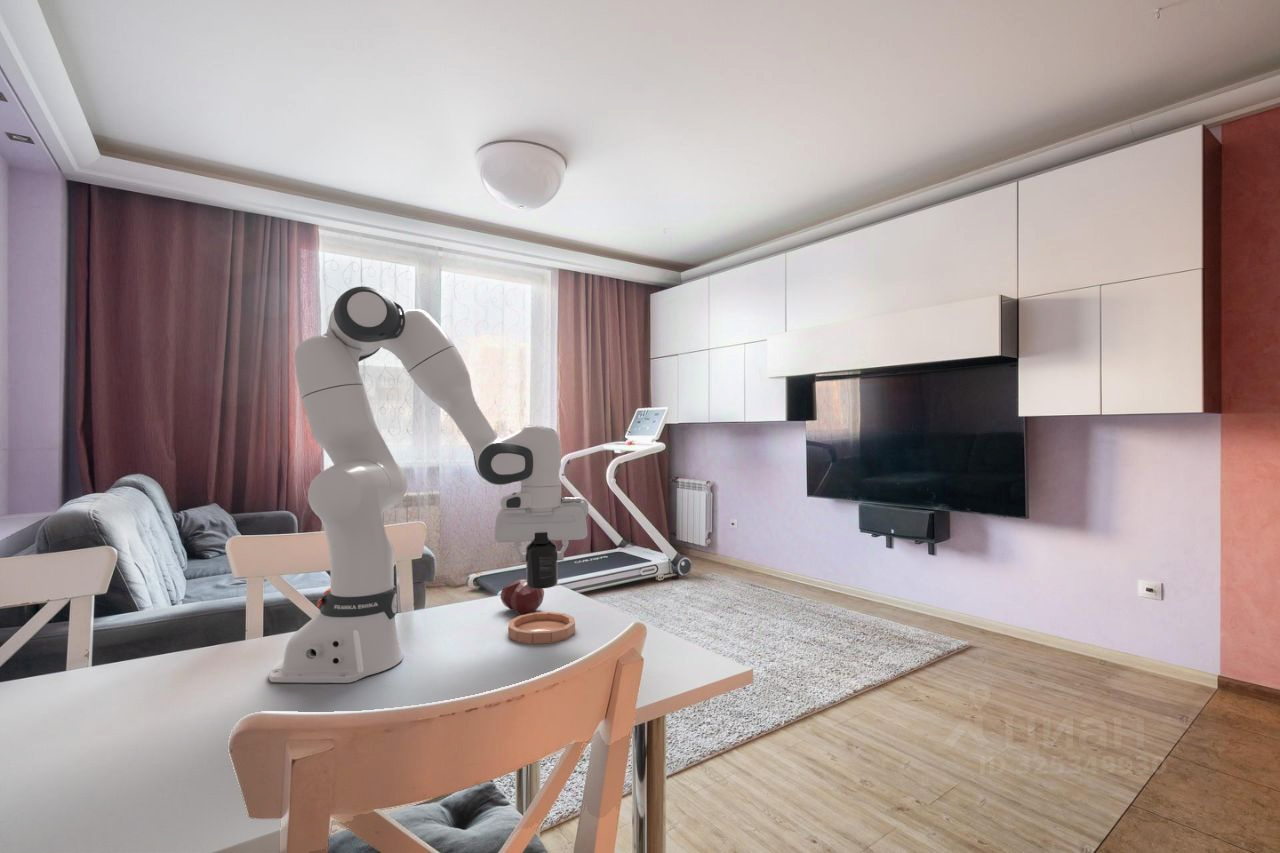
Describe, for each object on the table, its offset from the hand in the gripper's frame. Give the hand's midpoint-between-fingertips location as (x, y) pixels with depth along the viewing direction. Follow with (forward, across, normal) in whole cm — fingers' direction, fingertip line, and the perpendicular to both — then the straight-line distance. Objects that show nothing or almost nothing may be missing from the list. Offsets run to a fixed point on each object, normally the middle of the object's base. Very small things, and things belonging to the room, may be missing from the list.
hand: (541, 560), depth 133 cm
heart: (+16, +4, -16) cm, 23 cm away
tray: (+16, 0, 0) cm, 16 cm away
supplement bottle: (+6, 0, 0) cm, 6 cm away
